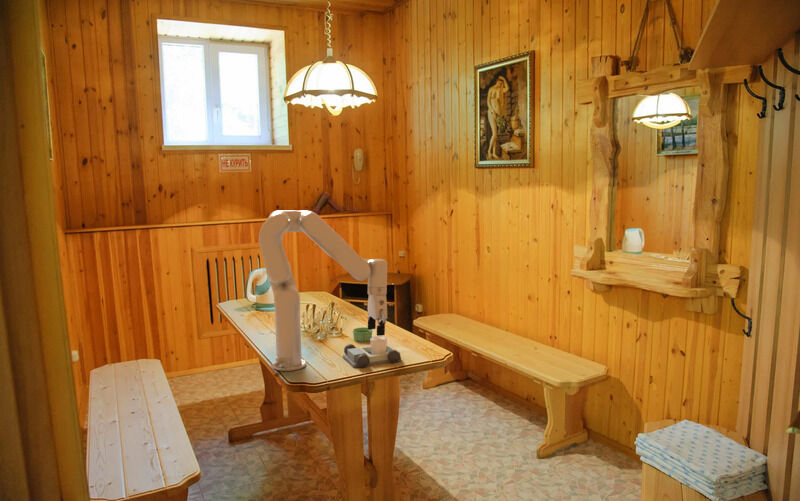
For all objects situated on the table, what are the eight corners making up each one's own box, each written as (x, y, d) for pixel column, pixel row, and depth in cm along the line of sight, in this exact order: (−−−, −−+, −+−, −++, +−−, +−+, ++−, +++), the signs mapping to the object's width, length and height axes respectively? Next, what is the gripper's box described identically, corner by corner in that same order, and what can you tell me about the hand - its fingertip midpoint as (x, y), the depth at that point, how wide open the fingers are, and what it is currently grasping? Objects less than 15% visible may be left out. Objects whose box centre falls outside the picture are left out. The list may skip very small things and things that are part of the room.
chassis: (355, 369, 211) (354, 357, 210) (341, 356, 226) (341, 345, 225) (403, 361, 219) (402, 349, 218) (386, 349, 234) (386, 338, 233)
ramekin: (359, 343, 244) (359, 333, 243) (349, 338, 251) (348, 329, 251) (376, 339, 249) (376, 330, 249) (365, 335, 256) (365, 326, 256)
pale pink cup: (385, 358, 219) (385, 341, 218) (368, 357, 221) (368, 340, 220) (389, 353, 226) (388, 336, 225) (372, 352, 227) (372, 335, 226)
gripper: (394, 293, 214) (393, 337, 216) (377, 285, 229) (376, 326, 231) (376, 295, 211) (375, 338, 213) (360, 286, 226) (359, 327, 228)
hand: (376, 332), depth 222 cm, fingers open, 9 cm apart
